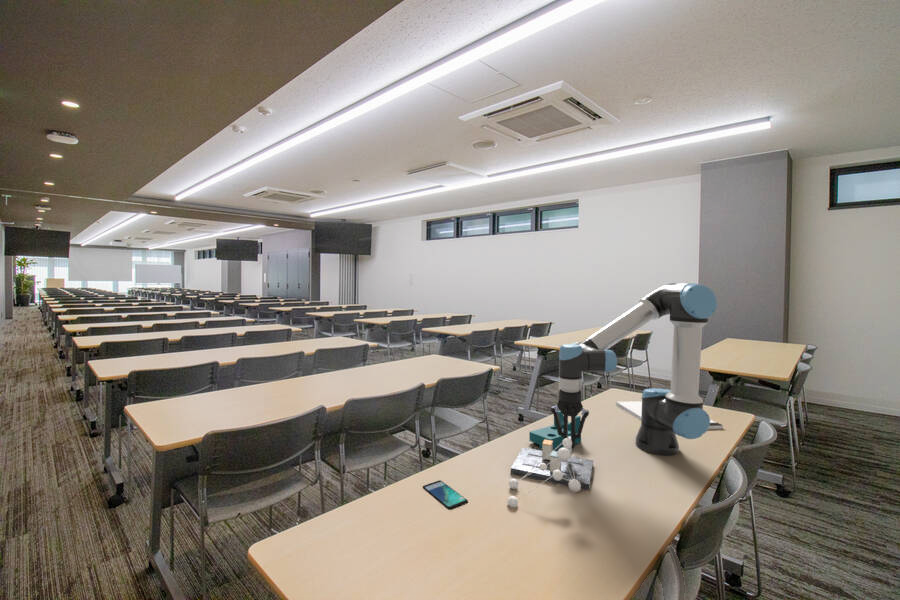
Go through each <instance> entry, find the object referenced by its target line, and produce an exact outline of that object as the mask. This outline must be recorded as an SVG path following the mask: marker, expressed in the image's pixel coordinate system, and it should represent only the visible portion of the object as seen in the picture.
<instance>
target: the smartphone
mask: <svg viewBox="0 0 900 600" xmlns="http://www.w3.org/2000/svg"><path fill="white" fill-rule="evenodd" d="M422 489H423V490H425V491H426V492H427V493H428V494H430V495H431V496H432V497H433V498H434V499H435V500H437V501H438V502H439V503H440V504H441V505H442V506H444V507H445V508H446V509H447V510H450V509H451V510H453V509H457V508H459V507H461V506H464V505H466V504H468V503H469V500H468V499H467V498H465V497H464V496H463V495H462V494H460V493H459V492H457V491H456V490H454V489H453V488H452V487H450V486H449V485H448V484H447V483H445V482H444V481H442V480H439V479H438V480H437V481H434V482H431V483H428V484H424V485H422Z"/></svg>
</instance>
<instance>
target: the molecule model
mask: <svg viewBox="0 0 900 600" xmlns="http://www.w3.org/2000/svg"><path fill="white" fill-rule="evenodd" d="M561 444H563V446H564V448H560V449H559V450H557V452H558V457H559V458H557V459H560V462H561V460H562V461H566V463H567V460H569V459H570V457H571V456H572V455H571V453H570V449H569V450H568V449H567V448H570V447H571V446H572V441H571V440H570V439H569V438H565V439H564V440H563V442H562V443H561ZM561 444H560V445H561ZM560 445H559V446H560ZM559 446H558V447H559ZM558 447H557V448H558ZM554 450H555V449H554ZM554 450H553V451H554ZM553 451H552V452H553ZM552 452H551V453H552ZM551 453H550V454H551ZM550 454H549V455H550ZM545 458H546V457H545ZM545 458H544V459H545ZM544 459H543V460H544ZM557 459H556V460H557ZM543 460H542V461H543ZM542 461H541V462H542ZM554 461H555V460H554ZM552 462H553V461H552ZM550 463H551V462H550ZM550 463H548V464H550ZM571 463H572V460H571ZM548 464H547V465H548ZM537 465H538V464H537ZM537 465H536V466H537ZM547 465H546V464H545V463H541V464H540V466H539V467H540V468H539V469H541V470H542V471H545V470H546V469H547ZM567 465H568V464H567ZM536 466H535V467H536ZM559 466H560V464H559ZM535 467H534V468H535ZM534 468H533V469H534ZM568 468H569V467H568ZM533 469H532V470H533ZM539 469H537V470H539ZM558 469H559V467H558ZM572 469H573V466H572ZM537 470H536V471H537ZM569 471H570V470H569ZM529 472H530V471H529ZM529 472H528V473H529ZM534 472H535V471H534ZM528 473H527V474H528ZM532 473H533V472H532ZM527 474H526V475H527ZM530 474H531V473H530ZM570 474H571V472H570ZM573 474H574V471H573ZM526 475H525V476H524V477H523V476H522V477H521V478H519V479H517V478H516V479H515V478H511V479H509V480H508V485H509V487H510V489H511V490H516V489H518V487H519V482H520V481H522V480H523V479H524V478H527V477H526ZM528 475H529V474H528ZM528 475H527V476H528ZM552 475H553V478H554V479H555V480H557V481H559V480H561V479H564V478H563V474H562V472H561V471H560V470H554V471H553V474H552ZM551 477H552V476H551ZM551 477H550V478H551ZM571 477H572V475H571ZM548 479H549V478H548ZM548 479H547V480H548ZM565 480H566V479H565ZM568 481H569V480H568ZM545 482H547V481H546V480H545V481H542V482H541V483H540V484H538V485H537V486H535V487H534V488H533V489H531V490H529V491H528V492H526V493H524V495H523V496H521V497H519V498H517V497H516V496H514V495H512V496H509V497H508V498H507V505H508V506H509V507H510V508H517V506H518V505H519V504H518V503H519V500H520V499H522V498H523V497H525V496H526V495H528V494H530V493H531V492H532V491H533V490H535V489H536V488H538V487H539V486H540V485H543V484H544V483H545ZM567 487H568V488H569V490H570V491H571V492H573V493H578V492H579V491H580V490H582V489H581V484H580V482H579V481H578V480H576V479H575V477H574V479H573V478H572V480H570V481H569V484H568V486H567Z"/></svg>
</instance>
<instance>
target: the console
mask: <svg viewBox="0 0 900 600" xmlns="http://www.w3.org/2000/svg"><path fill="white" fill-rule="evenodd" d="M542 460H543V459H542V450H541V449H540V450H539V449H533V448H530V447H529V448H528V447H525V446H524V447H522V448H521V450H520V451H519V453H518V455H517V457H516V458H515V460H514V462H513V463H512V465H511V467H510V474H511V475H515V476H520V477H522V478H523V477H524V476H525V475H526V474H527V473H528V472H529V471H530V472H529V473H528V474H529V475H528V474H527V475H528V476H527V475H526V477H524V478H528V479H533V480H538V481H542V480H543V481H542V482H544V481H545V480H546V481H545V482H548V483H552V484H558V485H562V486H566V487H569V486H568V484H569V481H570V480H572V478H573V479H574V477H575V479H576V480H578V481H579V482H580V484H581V489H580V490H585V491H590V488H591V481H592V480H591V479H592V475H593V467H594V460H593V459H589V458H582V457H578V456H573V455H571V458H570V459H569V460H567V463H566V461H562V460H561V469H560V471H561V472H562V474H563V478H564V479H561V480H559V481H557V480H555V479H554V478H553V475H552V474H553V472H550V464H548V463H550V460H547V459H544V460H543V461H542ZM571 460H572V463H571ZM541 461H542V462H541ZM541 463H545V464H546V465H547V464H548V465H547V469H546V470H545V471H542V470H541V469H539V468H540V467H539V466H540V464H541ZM537 464H538V465H537ZM567 464H568V465H567ZM536 465H537V466H536ZM535 466H536V467H535ZM572 466H573V469H572ZM534 467H535V468H534ZM568 467H569V468H568ZM533 468H534V469H533ZM532 469H533V470H532ZM537 469H539V470H537ZM536 470H537V471H536ZM569 470H570V471H569ZM534 471H535V472H534ZM573 471H574V474H573ZM532 472H533V473H532ZM570 472H571V474H570ZM530 473H531V474H530ZM571 475H572V477H571ZM551 476H552V477H551ZM550 477H551V478H550ZM548 478H549V479H548ZM547 479H548V480H547ZM565 479H566V480H565ZM568 480H569V481H568Z"/></svg>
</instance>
